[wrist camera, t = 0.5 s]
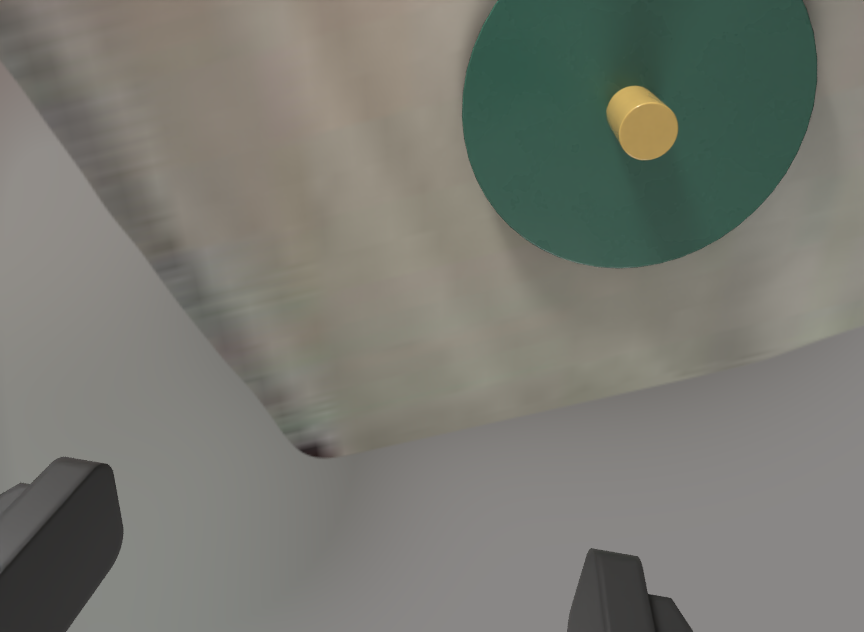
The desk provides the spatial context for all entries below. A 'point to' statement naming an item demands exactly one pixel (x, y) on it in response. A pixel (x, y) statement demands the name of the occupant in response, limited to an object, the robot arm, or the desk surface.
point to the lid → (636, 120)
